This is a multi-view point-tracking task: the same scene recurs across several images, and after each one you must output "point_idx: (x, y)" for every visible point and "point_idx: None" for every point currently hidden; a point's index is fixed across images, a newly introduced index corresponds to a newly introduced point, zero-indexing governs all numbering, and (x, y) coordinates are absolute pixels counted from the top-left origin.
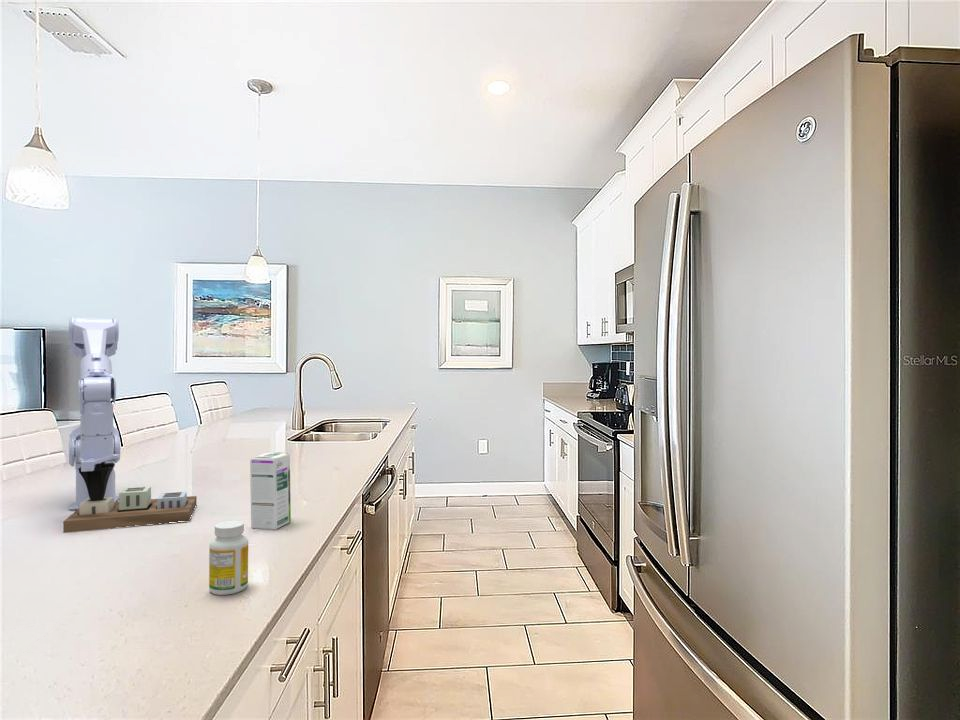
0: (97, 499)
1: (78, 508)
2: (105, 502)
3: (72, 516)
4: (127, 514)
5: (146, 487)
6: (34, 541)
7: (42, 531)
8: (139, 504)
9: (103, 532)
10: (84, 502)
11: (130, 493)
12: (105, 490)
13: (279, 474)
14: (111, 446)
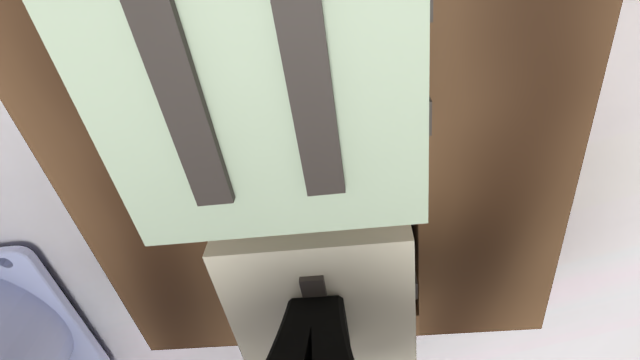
0: (346, 320)
1: (97, 346)
2: (412, 254)
3: (442, 322)
4: (551, 10)
5: None
6: (622, 324)
7: (454, 345)
8: None
9: (637, 95)
10: (371, 358)
11: (425, 105)
12: (287, 349)
13: None
14: None
